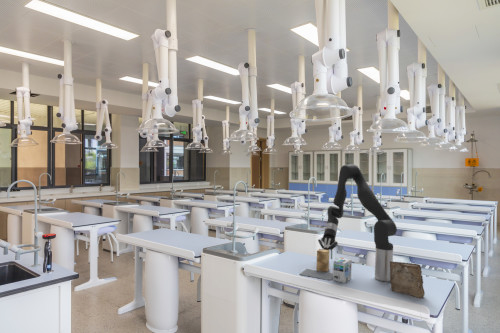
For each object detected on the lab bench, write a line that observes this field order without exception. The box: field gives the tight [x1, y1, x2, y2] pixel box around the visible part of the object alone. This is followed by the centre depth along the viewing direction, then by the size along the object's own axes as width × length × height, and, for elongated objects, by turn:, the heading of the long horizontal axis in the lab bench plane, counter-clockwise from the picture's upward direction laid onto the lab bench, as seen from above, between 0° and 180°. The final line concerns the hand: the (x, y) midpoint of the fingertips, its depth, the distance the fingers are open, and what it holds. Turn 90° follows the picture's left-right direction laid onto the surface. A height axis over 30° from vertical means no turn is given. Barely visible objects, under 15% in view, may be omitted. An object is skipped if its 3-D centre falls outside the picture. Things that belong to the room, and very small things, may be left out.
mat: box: [299, 268, 333, 281], centre depth 189 cm, size 18×13×1 cm
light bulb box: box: [332, 257, 353, 284], centre depth 182 cm, size 11×7×11 cm, turn 143°
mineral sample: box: [389, 261, 426, 299], centre depth 163 cm, size 17×4×15 cm, turn 47°
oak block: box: [315, 248, 330, 272], centre depth 198 cm, size 6×6×12 cm
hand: (325, 254), depth 202 cm, fingers closed
